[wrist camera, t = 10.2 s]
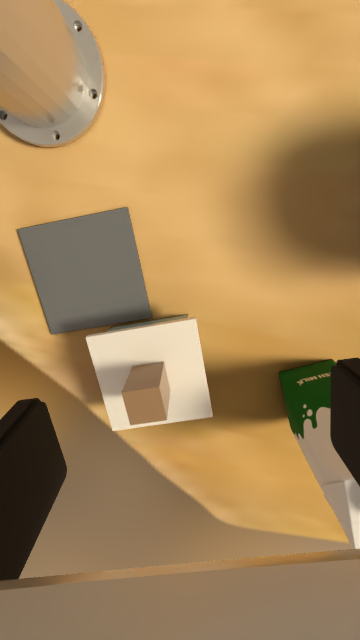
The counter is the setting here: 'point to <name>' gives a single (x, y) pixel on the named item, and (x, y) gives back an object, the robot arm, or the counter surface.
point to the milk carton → (321, 441)
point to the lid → (151, 374)
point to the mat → (87, 271)
